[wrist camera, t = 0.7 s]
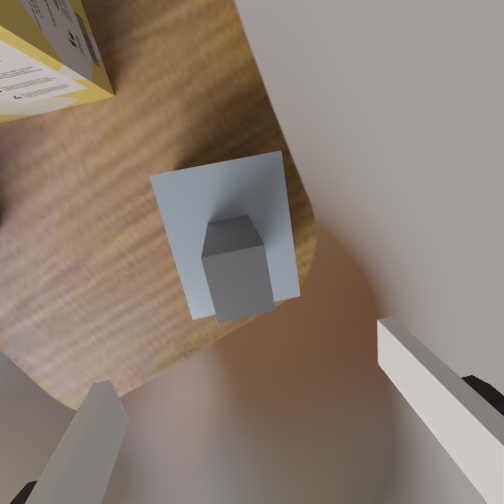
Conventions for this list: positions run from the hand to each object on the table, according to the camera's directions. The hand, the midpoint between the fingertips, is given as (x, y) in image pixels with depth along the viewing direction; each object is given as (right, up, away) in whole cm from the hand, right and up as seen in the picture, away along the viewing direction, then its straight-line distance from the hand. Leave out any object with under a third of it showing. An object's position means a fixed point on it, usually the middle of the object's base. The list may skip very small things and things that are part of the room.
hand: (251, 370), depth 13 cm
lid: (-3, +7, +21) cm, 22 cm away
